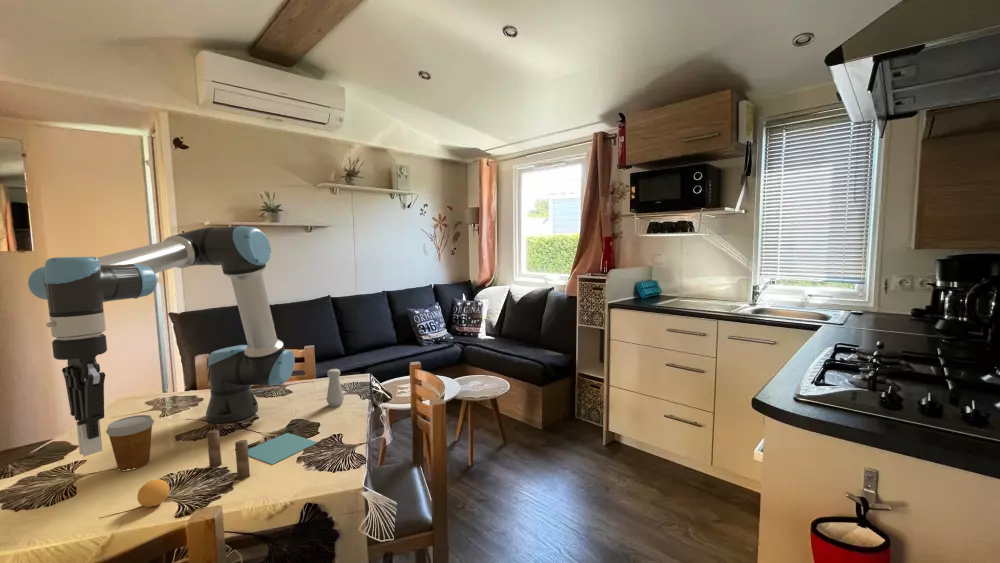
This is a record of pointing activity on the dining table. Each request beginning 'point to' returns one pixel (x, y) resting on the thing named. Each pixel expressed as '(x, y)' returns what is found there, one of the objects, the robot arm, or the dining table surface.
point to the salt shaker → (334, 389)
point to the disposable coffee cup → (131, 440)
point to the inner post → (214, 448)
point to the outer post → (242, 459)
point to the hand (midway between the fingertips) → (91, 452)
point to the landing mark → (280, 448)
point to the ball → (153, 493)
